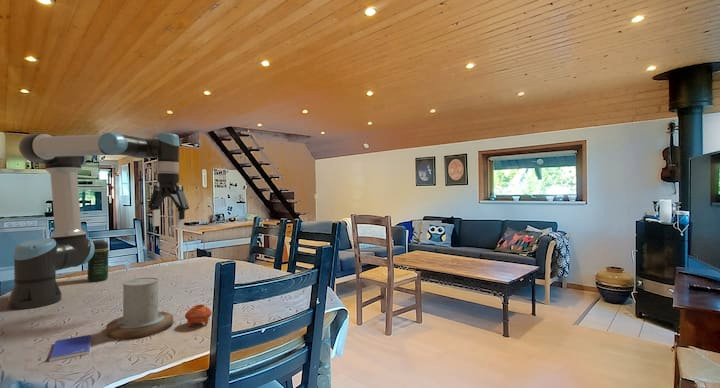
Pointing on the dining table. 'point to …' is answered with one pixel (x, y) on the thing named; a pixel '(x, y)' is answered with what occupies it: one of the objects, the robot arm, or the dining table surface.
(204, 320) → the pot
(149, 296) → the grey cylinder
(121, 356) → the dining table surface
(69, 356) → the blue flat block
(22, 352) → the dining table surface
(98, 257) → the coffee jar
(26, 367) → the dining table surface
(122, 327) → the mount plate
